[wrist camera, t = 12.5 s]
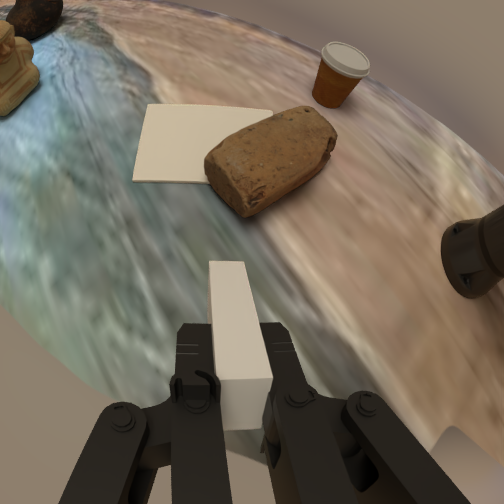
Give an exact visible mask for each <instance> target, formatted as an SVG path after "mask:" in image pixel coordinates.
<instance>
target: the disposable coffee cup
mask: <svg viewBox="0 0 504 504" xmlns="http://www.w3.org/2000/svg"><path fill="white" fill-rule="evenodd" d="M321 54H322V58H321V62H320V66H319V70H318V73H317V77H316V81H315V84H314V88H313V91H312V95H313V97H314V99H315V100H316V101H317V102H318V103H319V104H321V105H323V106H325V107H328V108H337V107H339V106H340V105H341V104H342V102H343V101H344V100H345V99H346V97H347V96H348V95H349V94H350V93H351V91H352V90H353V89H354V88H355V87H356V85H357V84H358V83H359V82H360V80H361V79H362V78H363V77H365V76H367V75H368V74H369V72H370V69H369V67H370V62H369V60H368V59H367V57H366V56H365V55H364V54H363V53H362V52H360V51H359V50H357V49H356V48H354V47H352V46H350V45H348V44H345V43H341V42H330V43H328V44H327V45H326V46H325V47H323V48H322V51H321Z"/></svg>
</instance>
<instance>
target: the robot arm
mask: <svg viewBox="0 0 504 504" xmlns="http://www.w3.org/2000/svg"><path fill="white" fill-rule="evenodd" d="M441 254H442V261H443V265H444V268H445V271H446V274H447V276H448V278H449V280H450V282H451V284H452V285H453V286H454V288H455V289H456V290H457V291H458V292H459V293H460V294H461V295H463V296H465V297H467V298H476V297H479V296H482V295H484V294H486V293H487V292H488V291H489V290H490V289H492V288H493V287H494V286H495V285H496V284H497V283H498V282H499V281H500V280H502V279H503V278H504V205H502V206H501V207H499V208H497V209H496V210H494V211H492V212H491V213H489V214H487V215H486V216H484V217H482V218H478V219H470V220H462V221H458V222H456V223H455V224H453V225H451V226H450V227H448V228H447V229H446V231H445V233H444V235H443V238H442V244H441ZM207 312H208V324H191V323H184V324H183V325H182V327H181V328H180V329H179V331H178V332H177V346H176V363H175V374H174V375H173V376H172V378H171V381H170V384H169V386H170V393H171V396H170V397H169V398H168V399H167V400H166V401H165V402H163V403H161V404H159V405H156V406H152V407H148V408H143V409H140V408H139V407H138V406H136V405H134V404H132V403H128V402H117V403H113V404H111V405H109V406H107V407H106V408H105V409H104V410H103V411H102V413H101V414H100V416H99V418H98V420H97V422H96V424H95V426H94V428H93V430H92V432H91V434H90V436H89V438H88V440H87V442H86V444H85V446H84V449H83V451H82V453H81V455H80V457H79V459H78V461H77V463H76V465H75V468H74V470H73V472H72V474H71V476H70V479H69V481H68V483H67V485H66V488H65V490H64V492H63V494H62V497H61V499H60V501H59V503H58V504H147V503H148V499H149V496H150V493H151V490H152V486H153V483H154V480H155V477H156V473H157V470H158V468H160V467H164V466H168V465H171V486H172V504H232V497H231V490H230V482H229V474H228V467H227V458H226V450H225V442H224V433H223V430H245V429H260V428H261V426H262V422H263V425H264V430H265V434H264V438H263V441H262V445H261V452H260V453H264V450H265V453H266V458H267V463H268V468H269V473H270V477H271V482H272V487H273V492H274V496H275V501H276V504H471V503H470V502H469V501H468V499H467V498H466V497H465V496H464V495H463V494H462V492H461V491H460V490H459V489H458V488H457V486H456V485H455V484H454V483H453V482H452V480H451V479H450V478H449V477H448V476H447V475H446V474H445V472H444V471H443V470H442V469H441V467H440V466H439V465H438V464H437V463H436V462H435V460H434V459H433V458H432V457H431V456H430V454H429V453H428V452H427V451H426V450H425V449H424V447H423V446H422V445H421V444H420V443H419V441H418V440H417V439H416V438H415V437H414V436H413V434H412V433H411V432H410V431H409V430H408V428H407V427H406V426H405V425H404V424H403V423H402V421H401V420H400V419H399V418H398V417H397V416H396V414H395V413H394V412H393V411H392V410H391V408H390V407H389V406H388V405H387V404H386V403H385V401H384V400H383V399H382V398H381V397H379V396H378V395H377V394H374V393H372V392H369V391H359V392H355V393H353V394H352V395H350V396H349V398H348V400H343V399H336V398H329V397H325V396H322V395H320V394H318V393H317V391H316V390H315V389H314V388H313V387H311V386H310V385H308V383H307V382H306V379H305V376H304V373H303V371H302V368H301V365H300V362H299V359H298V357H297V354H296V352H295V348H294V345H293V343H292V340H291V337H290V334H289V331H288V330H287V329H286V328H285V327H284V326H283V325H282V324H281V323H280V322H275V323H259V321H258V317H257V313H256V309H255V305H254V301H253V297H252V293H251V289H250V285H249V281H248V277H247V273H246V269H245V265H244V262H238V261H209V279H208V310H207Z"/></svg>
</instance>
